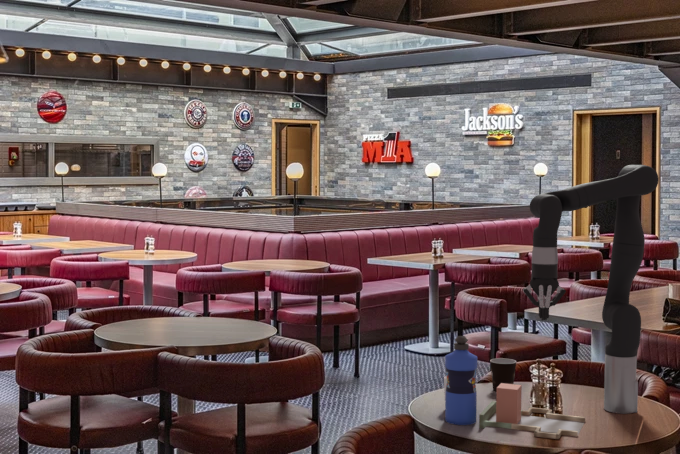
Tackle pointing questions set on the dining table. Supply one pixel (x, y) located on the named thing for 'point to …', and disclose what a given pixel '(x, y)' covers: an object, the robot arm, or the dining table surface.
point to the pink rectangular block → (508, 403)
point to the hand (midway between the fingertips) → (543, 319)
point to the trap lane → (536, 422)
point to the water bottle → (461, 384)
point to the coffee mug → (502, 371)
